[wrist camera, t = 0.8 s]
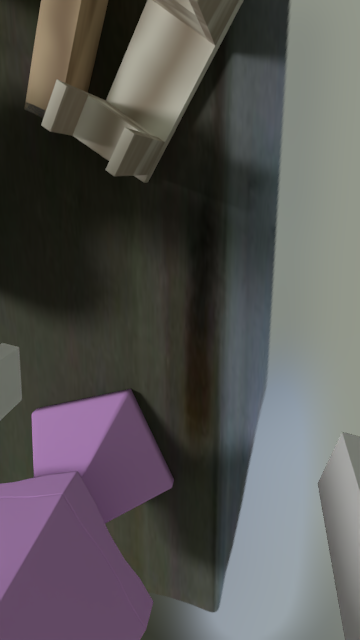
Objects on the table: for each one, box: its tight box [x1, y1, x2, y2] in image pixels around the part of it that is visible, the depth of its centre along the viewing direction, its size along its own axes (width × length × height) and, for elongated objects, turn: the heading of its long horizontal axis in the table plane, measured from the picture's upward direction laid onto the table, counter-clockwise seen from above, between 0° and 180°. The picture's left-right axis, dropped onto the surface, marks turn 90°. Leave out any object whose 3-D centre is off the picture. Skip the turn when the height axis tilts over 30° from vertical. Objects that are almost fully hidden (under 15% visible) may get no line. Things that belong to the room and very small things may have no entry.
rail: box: [25, 0, 108, 118], centre depth 35 cm, size 4×20×5 cm, turn 158°
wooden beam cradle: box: [41, 0, 244, 183], centre depth 33 cm, size 8×20×12 cm, turn 148°
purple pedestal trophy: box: [0, 389, 174, 640], centre depth 42 cm, size 22×22×45 cm
